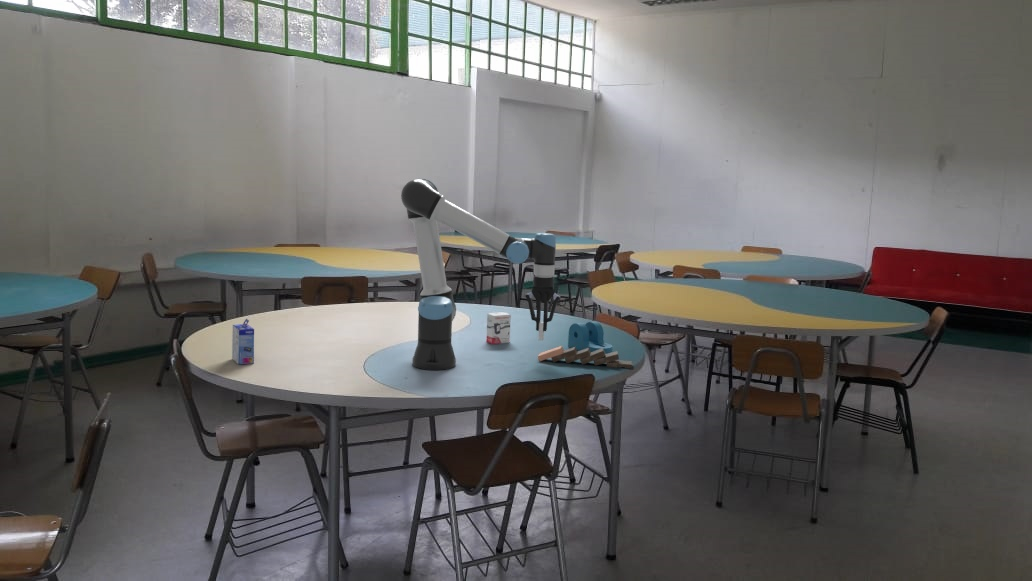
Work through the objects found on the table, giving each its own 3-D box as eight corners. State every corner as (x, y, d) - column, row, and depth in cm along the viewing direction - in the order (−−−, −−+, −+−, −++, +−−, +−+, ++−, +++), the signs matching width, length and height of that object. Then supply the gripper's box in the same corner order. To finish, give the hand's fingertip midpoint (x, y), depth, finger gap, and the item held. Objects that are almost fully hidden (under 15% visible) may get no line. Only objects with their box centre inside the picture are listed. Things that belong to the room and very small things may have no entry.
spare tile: (541, 358, 280) (563, 350, 278) (539, 361, 275) (562, 353, 273) (539, 353, 280) (561, 345, 278) (537, 356, 275) (560, 348, 273)
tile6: (606, 364, 276) (631, 366, 275) (606, 368, 271) (631, 370, 270) (607, 359, 276) (631, 361, 275) (606, 362, 271) (632, 364, 270)
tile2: (554, 359, 279) (577, 351, 277) (553, 362, 274) (576, 354, 272) (552, 354, 279) (575, 346, 277) (551, 357, 274) (574, 349, 272)
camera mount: (567, 347, 301) (569, 321, 299) (588, 344, 306) (589, 319, 305) (597, 357, 286) (598, 330, 284) (617, 354, 292) (619, 327, 290)
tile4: (582, 361, 277) (605, 352, 276) (582, 364, 272) (605, 355, 271) (580, 356, 277) (603, 347, 276) (580, 359, 272) (603, 350, 271)
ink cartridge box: (255, 363, 256) (254, 321, 254) (238, 365, 253) (237, 323, 251) (248, 357, 264) (247, 316, 262) (231, 358, 261) (231, 317, 259)
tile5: (594, 362, 277) (618, 356, 276) (594, 365, 272) (619, 359, 271) (593, 357, 277) (617, 350, 275) (593, 360, 272) (617, 354, 271)
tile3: (568, 360, 278) (590, 352, 276) (566, 363, 273) (589, 355, 272) (566, 355, 278) (588, 347, 276) (564, 358, 273) (587, 350, 271)
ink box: (492, 344, 300) (493, 315, 298) (485, 341, 304) (486, 313, 302) (510, 342, 304) (511, 313, 303) (503, 340, 308) (504, 311, 307)
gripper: (562, 275, 275) (559, 338, 279) (527, 273, 278) (524, 336, 281) (560, 278, 268) (557, 343, 272) (524, 276, 270) (521, 340, 274)
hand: (540, 339), depth 276 cm, fingers closed
